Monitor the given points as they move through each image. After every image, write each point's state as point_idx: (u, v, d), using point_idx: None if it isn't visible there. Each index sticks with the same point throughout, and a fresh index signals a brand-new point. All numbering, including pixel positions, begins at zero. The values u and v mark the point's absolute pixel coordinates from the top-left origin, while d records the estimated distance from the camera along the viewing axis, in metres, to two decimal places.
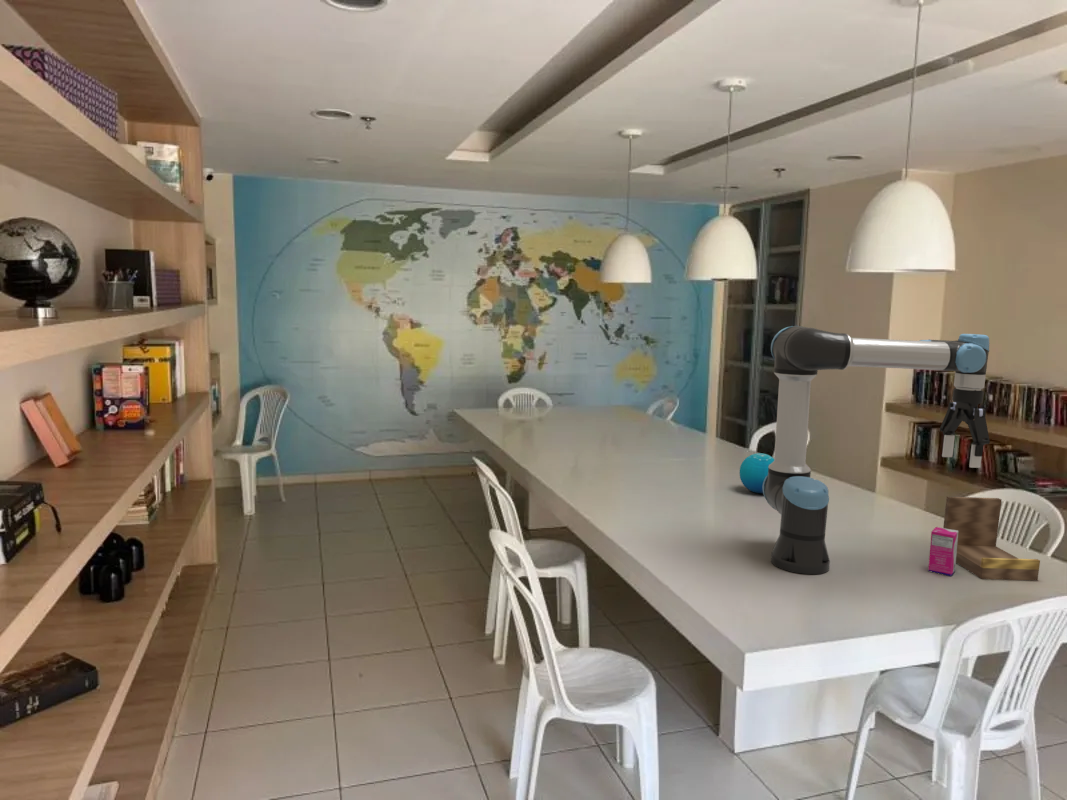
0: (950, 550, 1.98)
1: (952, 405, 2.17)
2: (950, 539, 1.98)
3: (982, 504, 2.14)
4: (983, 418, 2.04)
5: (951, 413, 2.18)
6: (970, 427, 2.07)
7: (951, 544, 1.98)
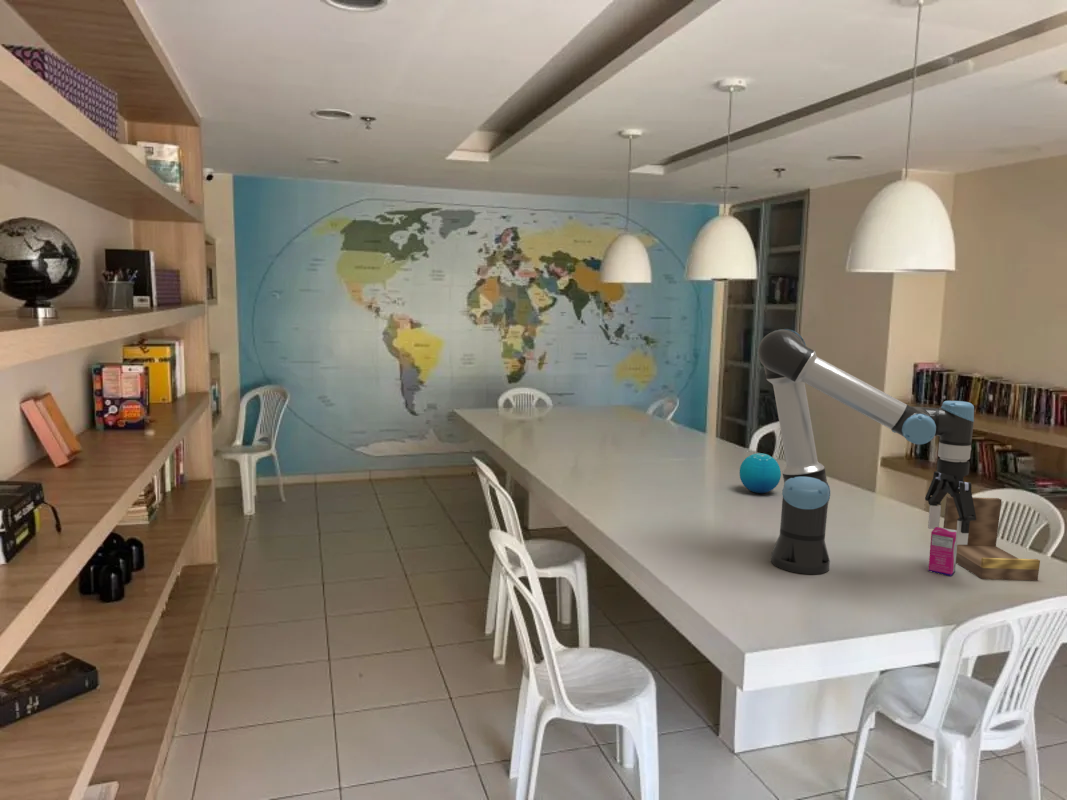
0: (950, 550, 1.98)
1: (937, 474, 2.04)
2: (950, 539, 1.98)
3: (982, 504, 2.14)
4: (969, 492, 1.92)
5: (936, 483, 2.05)
6: (956, 501, 1.95)
7: (951, 544, 1.98)
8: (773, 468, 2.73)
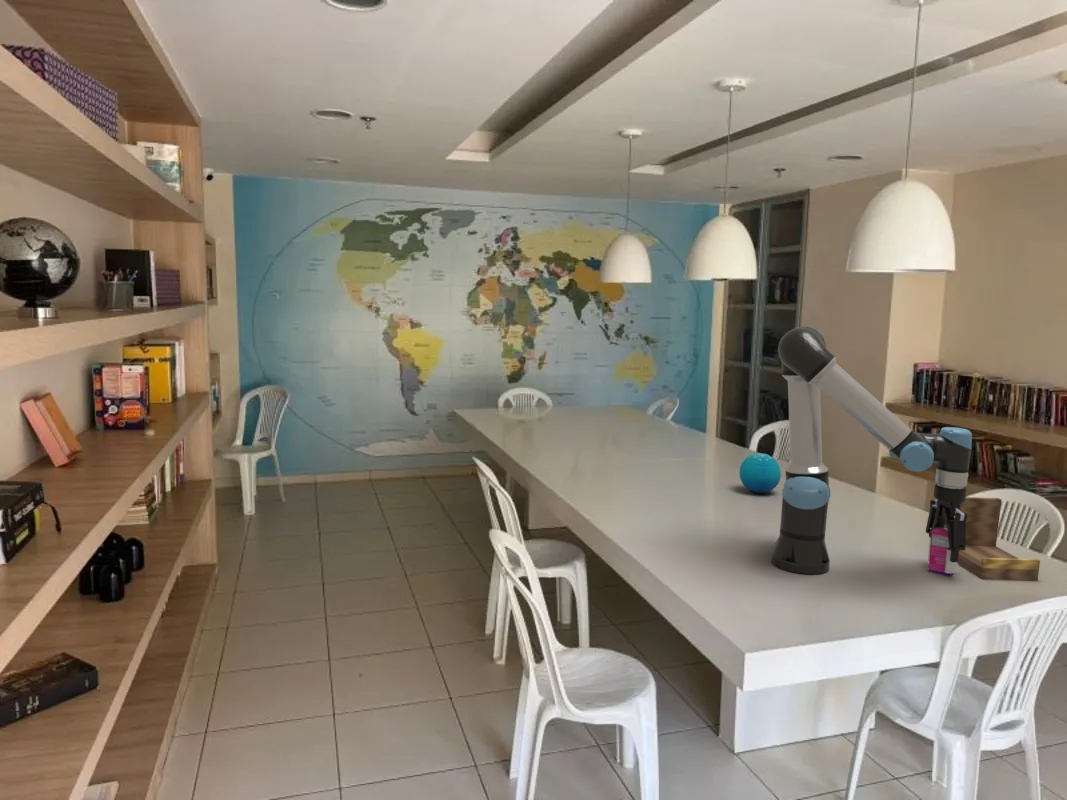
0: None
1: (934, 502, 2.06)
2: None
3: (982, 504, 2.14)
4: (963, 523, 1.94)
5: (934, 511, 2.06)
6: (949, 529, 1.97)
7: None
8: (773, 468, 2.73)
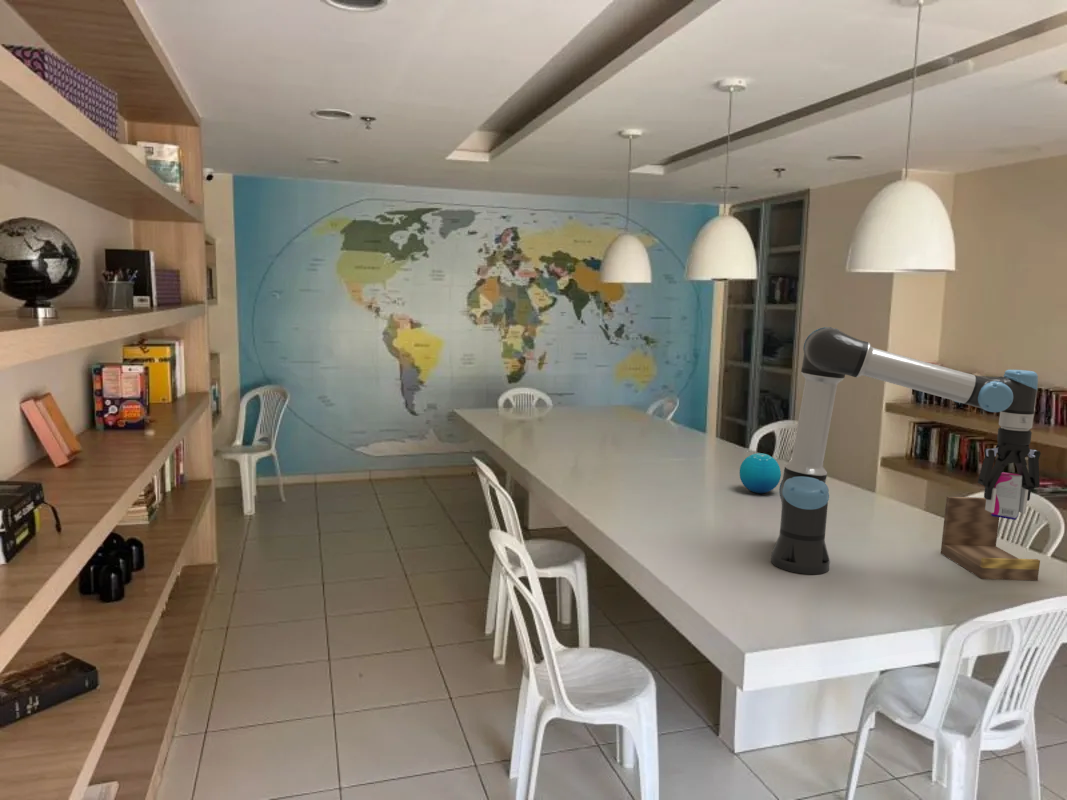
0: None
1: None
2: None
3: (982, 504, 2.14)
4: (988, 459, 1.98)
5: (1029, 461, 1.99)
6: None
7: None
8: (773, 468, 2.73)
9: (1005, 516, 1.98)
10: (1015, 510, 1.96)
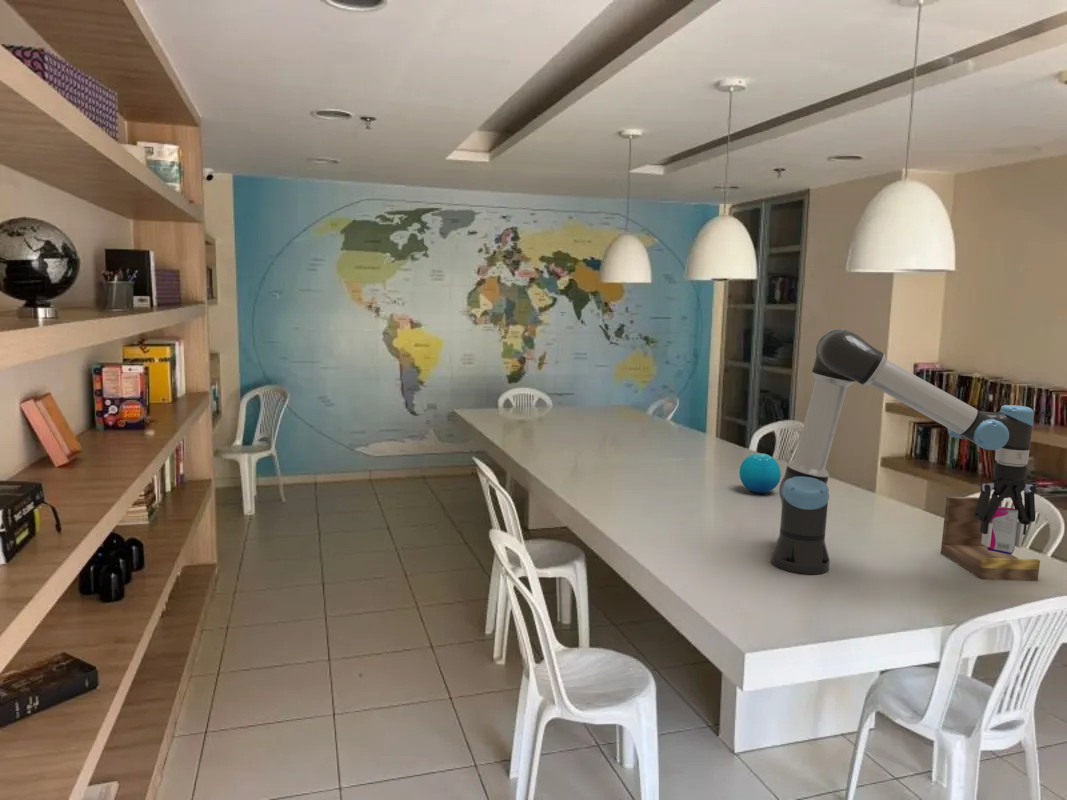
0: None
1: None
2: None
3: None
4: (984, 494, 1.99)
5: (1025, 496, 2.00)
6: None
7: None
8: (773, 468, 2.73)
9: (1001, 550, 1.99)
10: (1011, 545, 1.97)
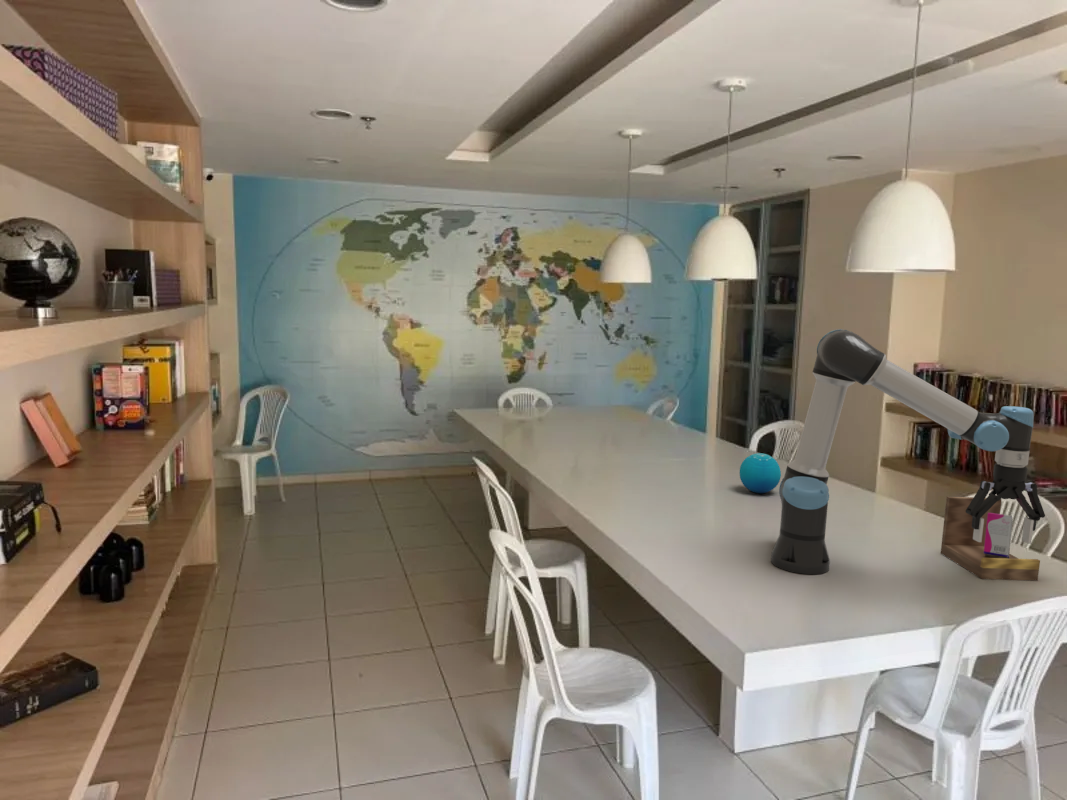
0: (986, 527, 2.05)
1: None
2: (987, 517, 2.06)
3: None
4: (982, 491, 1.99)
5: (1029, 494, 2.00)
6: None
7: None
8: (773, 468, 2.73)
9: (997, 553, 2.01)
10: (1007, 547, 2.00)
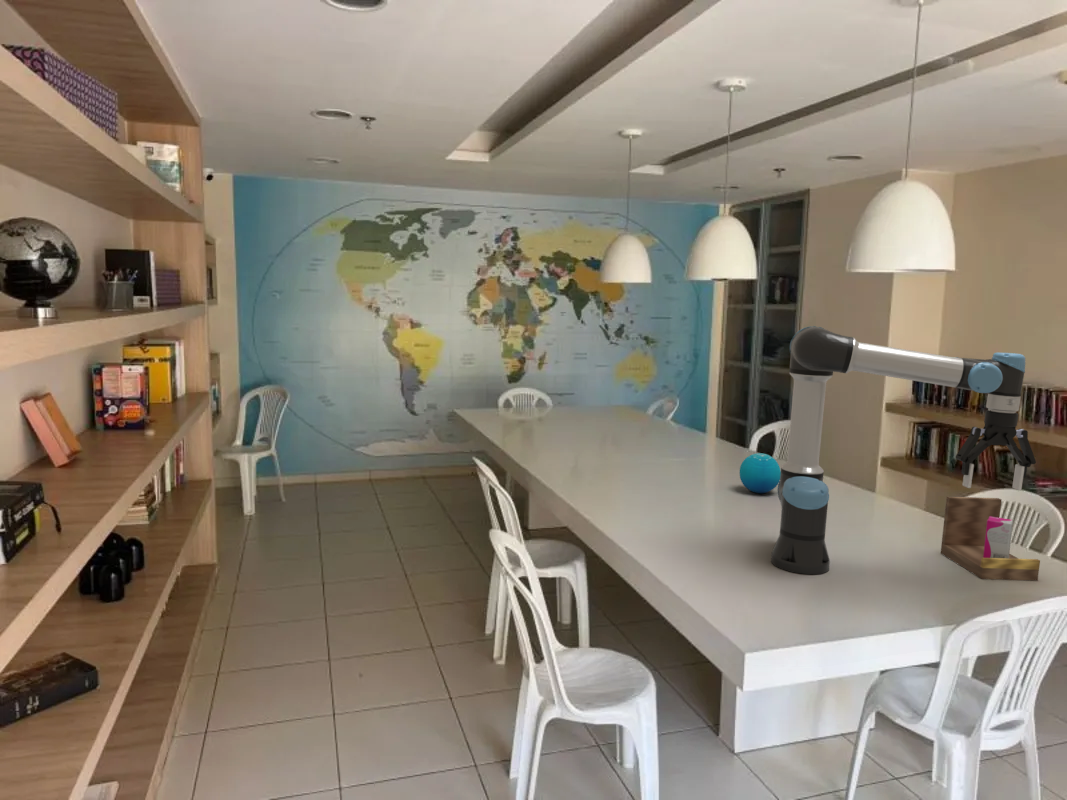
0: None
1: None
2: None
3: (982, 504, 2.14)
4: (972, 436, 1.99)
5: (1020, 441, 2.00)
6: None
7: (986, 528, 2.02)
8: (773, 468, 2.73)
9: None
10: (1006, 555, 1.99)
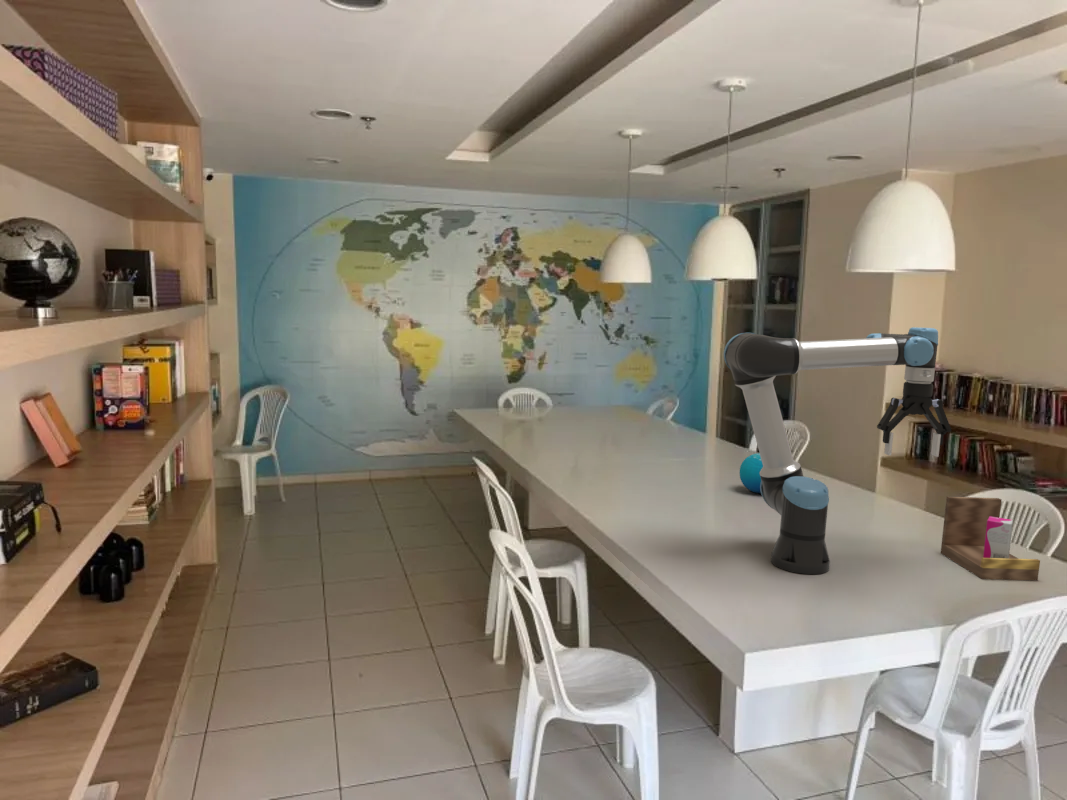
0: None
1: None
2: None
3: (982, 504, 2.14)
4: (891, 407, 2.12)
5: (936, 410, 2.13)
6: None
7: (986, 528, 2.02)
8: None
9: None
10: (1006, 555, 1.99)
